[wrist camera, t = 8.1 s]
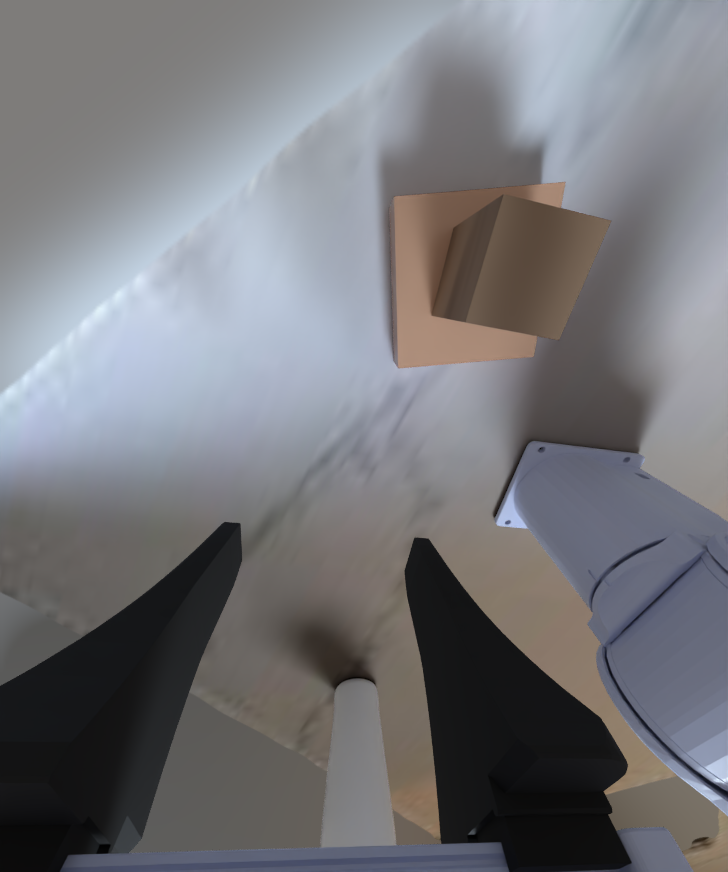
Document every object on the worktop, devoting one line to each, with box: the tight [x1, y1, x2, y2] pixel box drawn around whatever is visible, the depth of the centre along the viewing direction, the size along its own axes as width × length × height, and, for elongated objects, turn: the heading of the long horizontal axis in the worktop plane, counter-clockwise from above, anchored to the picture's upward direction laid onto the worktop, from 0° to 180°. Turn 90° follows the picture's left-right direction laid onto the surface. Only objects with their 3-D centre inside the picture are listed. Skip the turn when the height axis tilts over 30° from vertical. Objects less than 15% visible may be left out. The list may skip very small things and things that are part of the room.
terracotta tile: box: [389, 182, 565, 368], centre depth 16 cm, size 8×8×2 cm
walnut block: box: [432, 194, 611, 340], centre depth 13 cm, size 4×4×5 cm
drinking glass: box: [320, 678, 396, 848], centre depth 29 cm, size 7×7×15 cm
